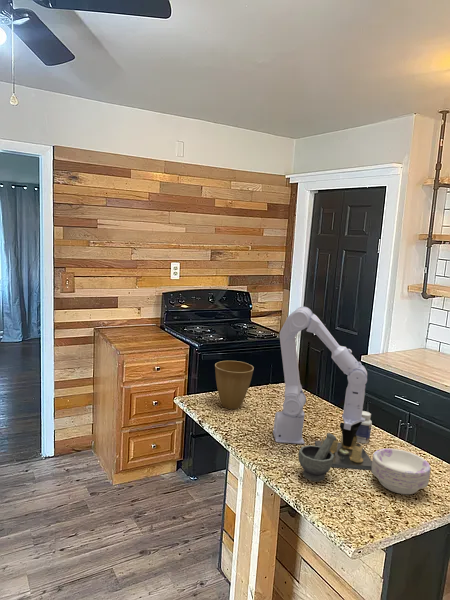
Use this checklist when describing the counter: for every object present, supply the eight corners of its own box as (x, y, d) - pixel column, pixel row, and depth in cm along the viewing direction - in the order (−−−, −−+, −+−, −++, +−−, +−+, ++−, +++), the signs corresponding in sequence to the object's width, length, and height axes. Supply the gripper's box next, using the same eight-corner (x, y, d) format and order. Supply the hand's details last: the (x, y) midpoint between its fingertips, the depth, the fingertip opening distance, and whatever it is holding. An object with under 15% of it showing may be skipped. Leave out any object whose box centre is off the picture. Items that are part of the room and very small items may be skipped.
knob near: (361, 464, 139) (363, 451, 139) (348, 461, 141) (350, 447, 140) (363, 458, 143) (365, 445, 143) (350, 455, 145) (352, 442, 144)
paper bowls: (376, 466, 142) (380, 442, 141) (430, 484, 134) (434, 458, 133) (363, 487, 129) (367, 460, 128) (422, 508, 121) (426, 479, 120)
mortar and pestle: (311, 487, 126) (316, 445, 125) (289, 471, 134) (294, 431, 132) (341, 479, 132) (347, 439, 130) (319, 464, 140) (323, 426, 138)
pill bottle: (370, 444, 157) (374, 417, 156) (353, 442, 158) (357, 414, 157) (368, 438, 162) (372, 411, 161) (352, 435, 163) (356, 409, 162)
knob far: (342, 449, 149) (343, 436, 148) (339, 443, 153) (341, 431, 152) (356, 450, 149) (357, 438, 148) (353, 445, 153) (355, 432, 152)
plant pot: (214, 396, 189) (218, 358, 187) (251, 401, 187) (255, 363, 185) (208, 410, 175) (212, 368, 172) (247, 415, 173) (252, 373, 171)
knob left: (322, 454, 144) (324, 441, 143) (319, 448, 148) (321, 435, 147) (337, 455, 144) (338, 442, 144) (333, 449, 148) (335, 436, 148)
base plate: (325, 466, 139) (326, 459, 138) (314, 444, 154) (315, 437, 153) (375, 470, 139) (376, 463, 139) (359, 447, 154) (360, 440, 154)
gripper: (362, 413, 140) (356, 455, 142) (370, 399, 153) (364, 438, 155) (339, 407, 143) (333, 449, 145) (348, 394, 156) (343, 433, 158)
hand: (348, 443), depth 150 cm, fingers closed on knob far, 4 cm apart
